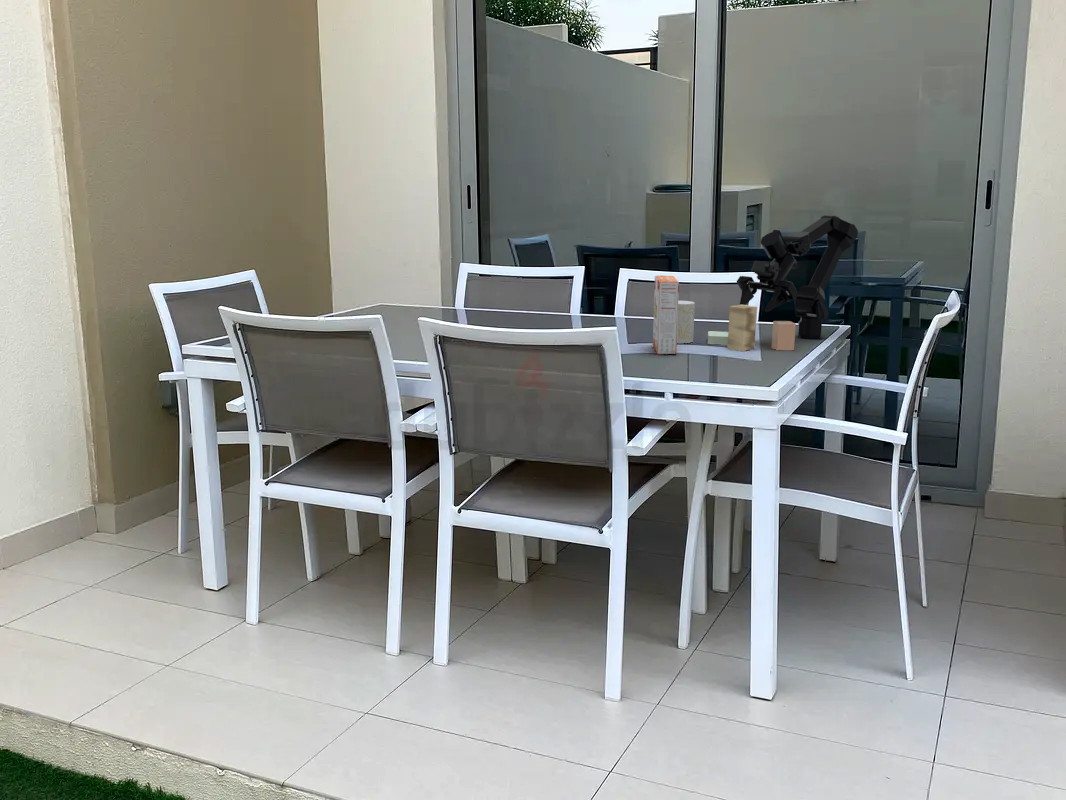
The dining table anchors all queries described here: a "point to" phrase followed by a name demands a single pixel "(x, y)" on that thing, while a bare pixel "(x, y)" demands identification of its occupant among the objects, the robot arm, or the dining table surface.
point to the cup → (685, 321)
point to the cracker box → (665, 314)
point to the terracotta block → (783, 335)
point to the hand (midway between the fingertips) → (752, 309)
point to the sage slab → (717, 337)
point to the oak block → (742, 327)
